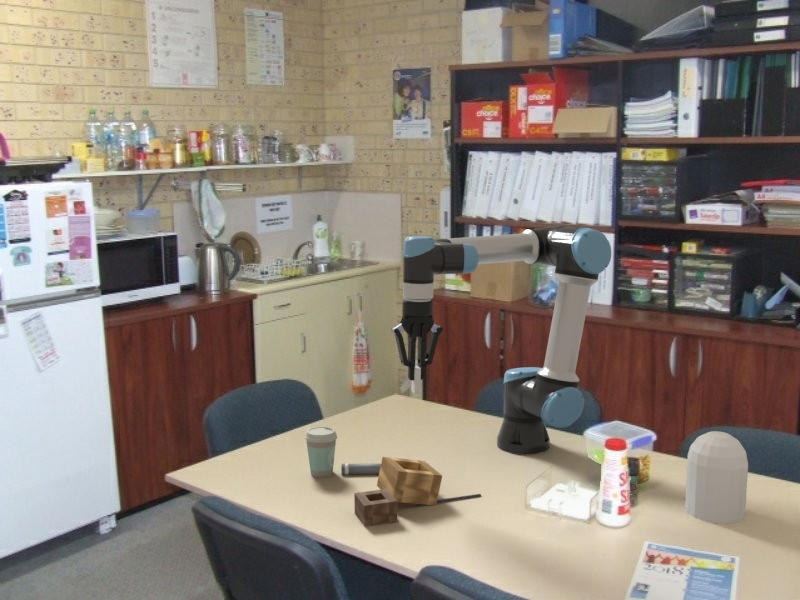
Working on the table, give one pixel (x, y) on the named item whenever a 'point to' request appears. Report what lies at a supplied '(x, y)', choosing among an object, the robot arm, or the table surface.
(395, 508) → the bead dark
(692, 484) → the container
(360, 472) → the gray tube
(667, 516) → the table surface
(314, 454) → the coffee cup
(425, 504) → the grey long thin rod
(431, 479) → the light wooden square box
